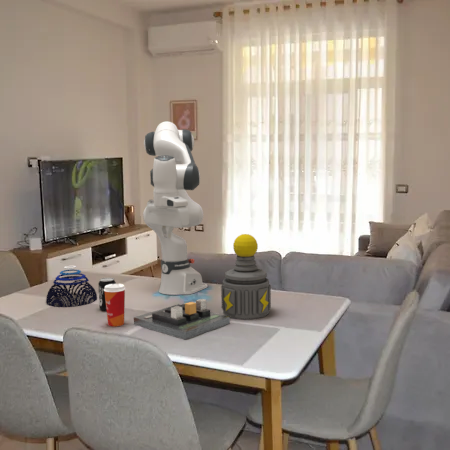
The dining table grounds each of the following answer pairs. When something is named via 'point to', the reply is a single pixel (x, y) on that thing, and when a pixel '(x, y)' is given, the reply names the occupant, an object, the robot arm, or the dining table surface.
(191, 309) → the block
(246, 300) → the decorative lamp
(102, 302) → the beverage can
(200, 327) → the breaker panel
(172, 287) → the robot arm
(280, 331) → the dining table surface
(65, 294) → the decorative bowl
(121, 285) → the paper cup
